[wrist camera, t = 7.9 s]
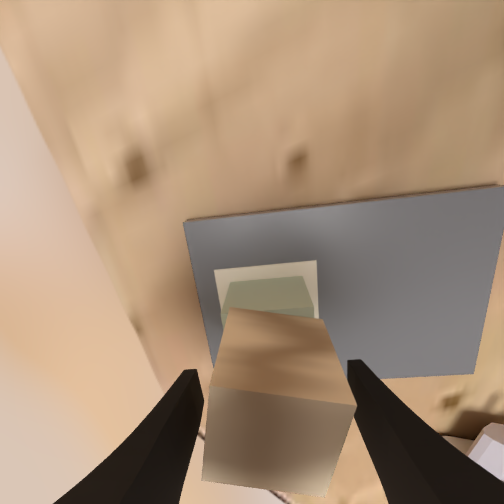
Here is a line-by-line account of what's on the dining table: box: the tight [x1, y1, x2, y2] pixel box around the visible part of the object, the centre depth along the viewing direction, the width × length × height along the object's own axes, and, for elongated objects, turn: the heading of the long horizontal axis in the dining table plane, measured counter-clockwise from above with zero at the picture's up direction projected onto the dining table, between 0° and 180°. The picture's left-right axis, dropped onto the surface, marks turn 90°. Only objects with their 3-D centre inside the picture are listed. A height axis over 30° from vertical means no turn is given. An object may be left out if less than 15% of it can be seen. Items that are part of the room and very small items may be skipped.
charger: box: [442, 422, 504, 482], centre depth 20 cm, size 5×9×15 cm
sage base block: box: [221, 276, 314, 331], centre depth 15 cm, size 5×5×4 cm
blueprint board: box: [183, 185, 504, 379], centre depth 17 cm, size 20×14×1 cm
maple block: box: [202, 307, 357, 498], centre depth 11 cm, size 5×5×5 cm
